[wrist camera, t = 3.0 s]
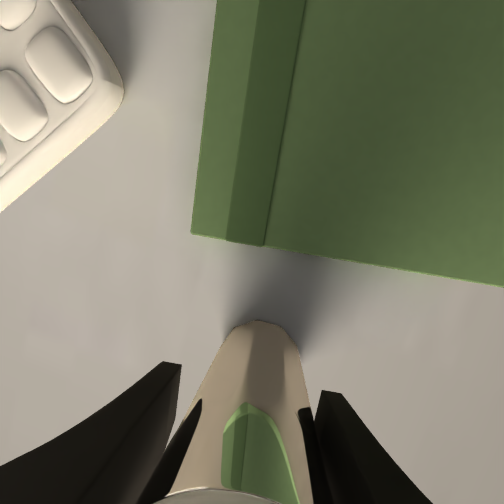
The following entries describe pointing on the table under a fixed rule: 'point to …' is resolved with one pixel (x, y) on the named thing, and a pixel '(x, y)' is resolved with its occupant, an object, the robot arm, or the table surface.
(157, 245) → the table surface
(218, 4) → the towel
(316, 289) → the table surface
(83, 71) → the calculator
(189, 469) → the milkshake
